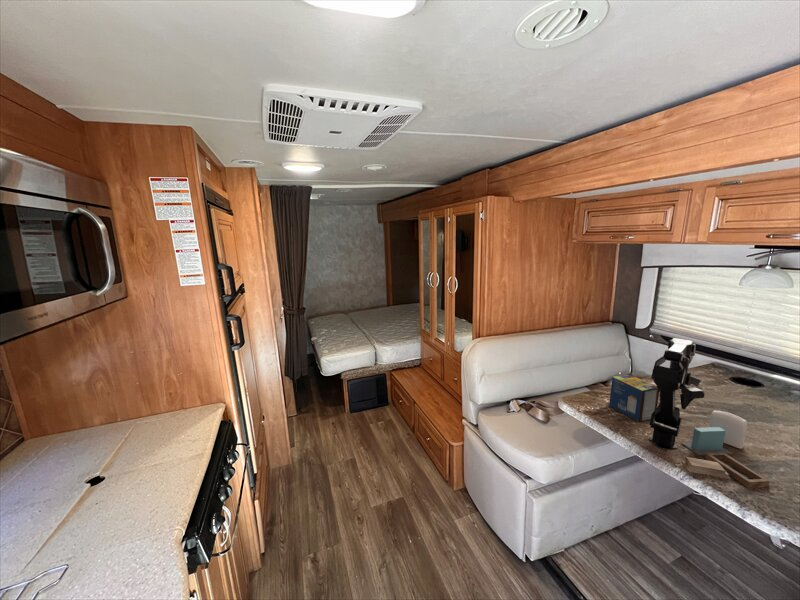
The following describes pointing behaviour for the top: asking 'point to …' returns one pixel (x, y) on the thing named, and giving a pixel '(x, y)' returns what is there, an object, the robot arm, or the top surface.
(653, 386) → the protein box
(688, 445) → the charcoal mat
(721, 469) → the offcut stack
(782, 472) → the top surface
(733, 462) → the walnut rack
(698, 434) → the teal block
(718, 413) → the photo printer
